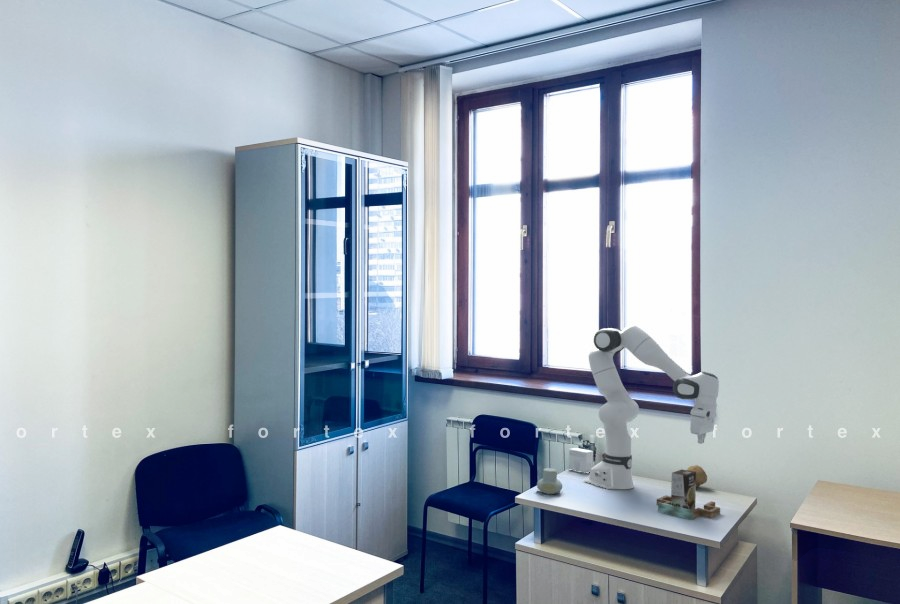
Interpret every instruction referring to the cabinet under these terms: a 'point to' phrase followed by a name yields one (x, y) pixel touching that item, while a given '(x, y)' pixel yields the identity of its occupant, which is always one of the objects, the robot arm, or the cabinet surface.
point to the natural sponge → (698, 475)
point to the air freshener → (549, 482)
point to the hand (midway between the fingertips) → (700, 443)
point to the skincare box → (580, 459)
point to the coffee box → (683, 489)
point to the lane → (667, 508)
